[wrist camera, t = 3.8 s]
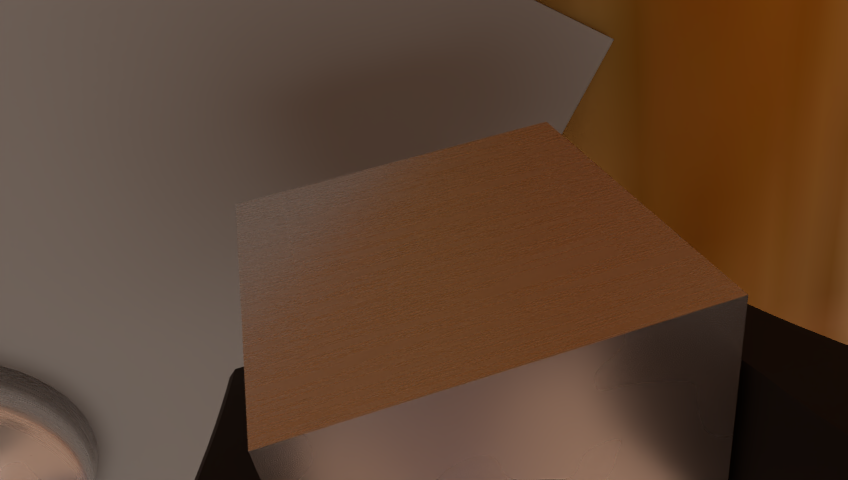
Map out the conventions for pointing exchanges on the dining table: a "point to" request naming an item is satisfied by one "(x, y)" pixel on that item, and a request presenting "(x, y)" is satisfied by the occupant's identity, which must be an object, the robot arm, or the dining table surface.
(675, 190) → the dining table surface
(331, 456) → the pale pink cube
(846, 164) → the dining table surface
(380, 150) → the mat
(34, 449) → the ratchet
